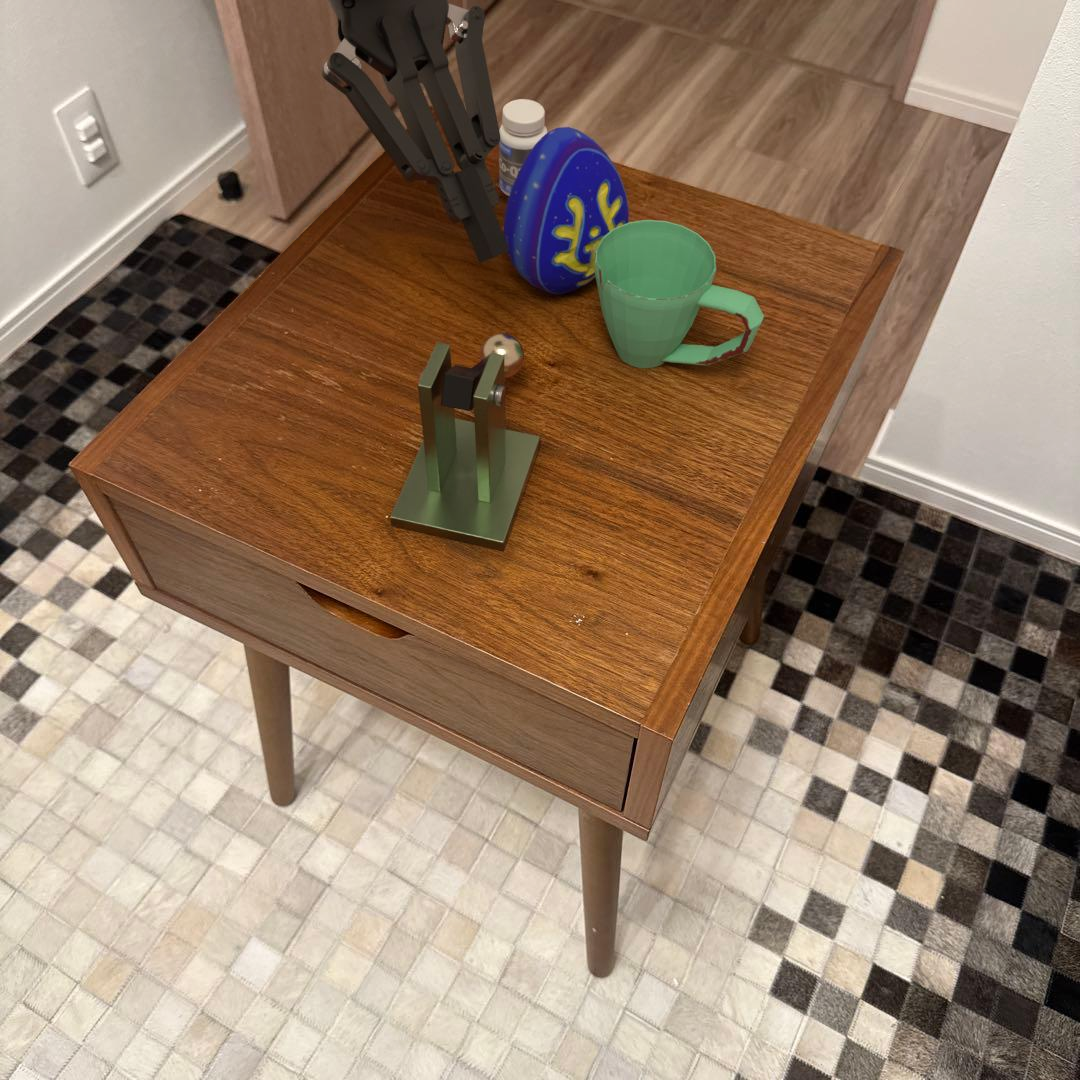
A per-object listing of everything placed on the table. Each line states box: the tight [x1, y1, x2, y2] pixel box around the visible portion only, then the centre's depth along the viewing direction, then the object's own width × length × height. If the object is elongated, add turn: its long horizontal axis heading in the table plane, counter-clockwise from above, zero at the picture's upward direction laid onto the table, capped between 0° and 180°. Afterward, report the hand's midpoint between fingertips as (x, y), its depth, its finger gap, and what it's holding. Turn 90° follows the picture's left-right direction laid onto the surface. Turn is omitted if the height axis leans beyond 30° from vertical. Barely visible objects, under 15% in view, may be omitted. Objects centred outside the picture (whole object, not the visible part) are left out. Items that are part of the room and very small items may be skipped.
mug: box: [595, 219, 765, 369], centre depth 90 cm, size 15×10×10 cm
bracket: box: [389, 341, 541, 552], centre depth 80 cm, size 11×9×13 cm
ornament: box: [503, 126, 630, 295], centre depth 94 cm, size 11×9×15 cm
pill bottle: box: [498, 98, 549, 197], centre depth 104 cm, size 5×5×8 cm
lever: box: [441, 332, 525, 412], centre depth 82 cm, size 15×4×4 cm
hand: (494, 256), depth 81 cm, fingers closed
